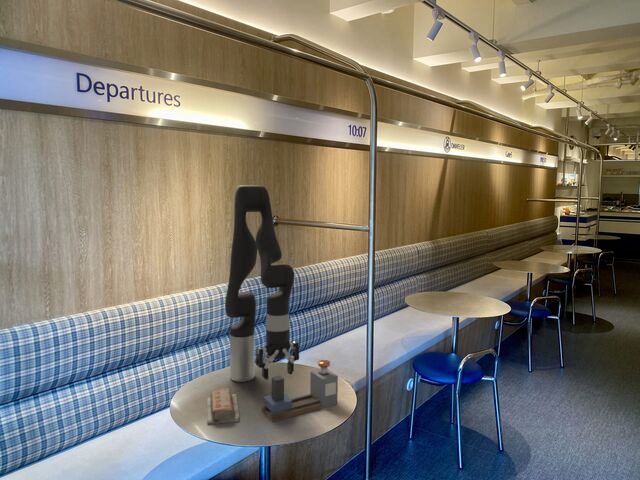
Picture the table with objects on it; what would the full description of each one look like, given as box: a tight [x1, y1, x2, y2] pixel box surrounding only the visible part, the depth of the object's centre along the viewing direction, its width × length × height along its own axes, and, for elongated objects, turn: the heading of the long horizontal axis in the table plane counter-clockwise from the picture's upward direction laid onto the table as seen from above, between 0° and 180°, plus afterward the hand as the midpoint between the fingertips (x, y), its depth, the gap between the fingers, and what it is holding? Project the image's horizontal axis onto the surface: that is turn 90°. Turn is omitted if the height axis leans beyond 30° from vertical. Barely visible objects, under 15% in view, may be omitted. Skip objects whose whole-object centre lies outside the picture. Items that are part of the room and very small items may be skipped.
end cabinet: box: [309, 368, 339, 409], centre depth 162 cm, size 8×6×10 cm
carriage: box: [262, 375, 292, 413], centre depth 153 cm, size 7×7×9 cm
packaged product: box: [206, 387, 240, 425], centre depth 156 cm, size 18×5×10 cm
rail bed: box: [261, 393, 322, 422], centre depth 156 cm, size 8×18×2 cm, turn 121°
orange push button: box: [317, 359, 331, 376], centre depth 162 cm, size 4×4×6 cm
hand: (278, 376), depth 152 cm, fingers open, 8 cm apart
